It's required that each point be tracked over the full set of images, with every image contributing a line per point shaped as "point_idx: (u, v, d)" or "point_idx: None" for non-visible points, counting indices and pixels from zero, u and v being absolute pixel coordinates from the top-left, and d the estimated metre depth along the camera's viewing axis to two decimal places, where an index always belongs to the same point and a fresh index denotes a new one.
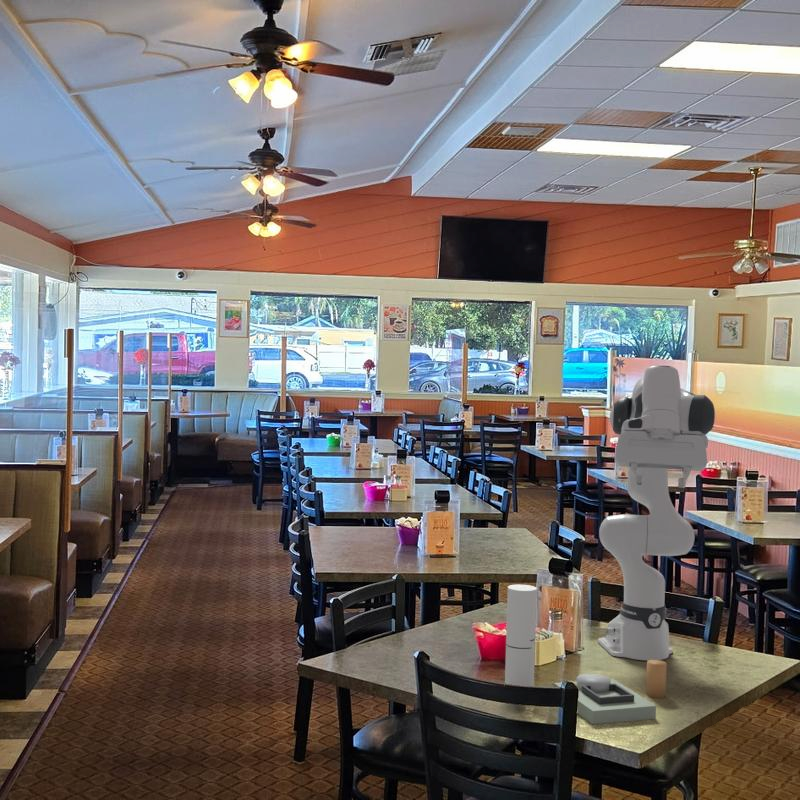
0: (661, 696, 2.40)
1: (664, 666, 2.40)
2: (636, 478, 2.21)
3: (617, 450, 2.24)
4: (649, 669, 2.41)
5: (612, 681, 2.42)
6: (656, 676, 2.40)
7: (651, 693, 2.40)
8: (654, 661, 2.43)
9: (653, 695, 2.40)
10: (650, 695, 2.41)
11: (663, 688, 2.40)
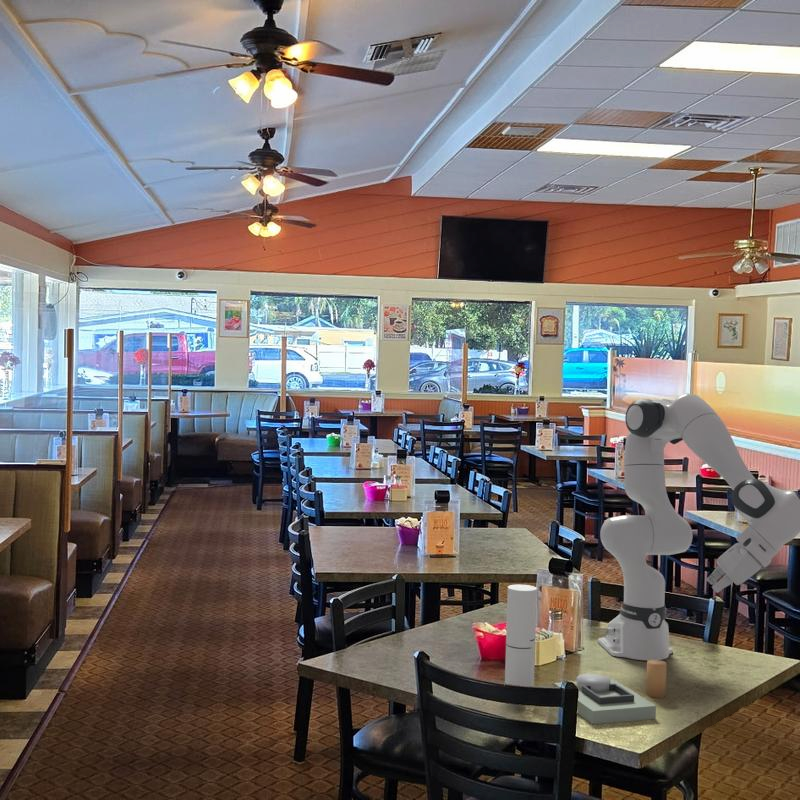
0: (661, 696, 2.40)
1: (664, 666, 2.40)
2: (720, 590, 2.34)
3: None
4: (649, 669, 2.41)
5: (612, 681, 2.42)
6: (656, 676, 2.40)
7: (651, 693, 2.40)
8: (654, 661, 2.43)
9: (653, 695, 2.40)
10: (650, 695, 2.41)
11: (663, 688, 2.40)
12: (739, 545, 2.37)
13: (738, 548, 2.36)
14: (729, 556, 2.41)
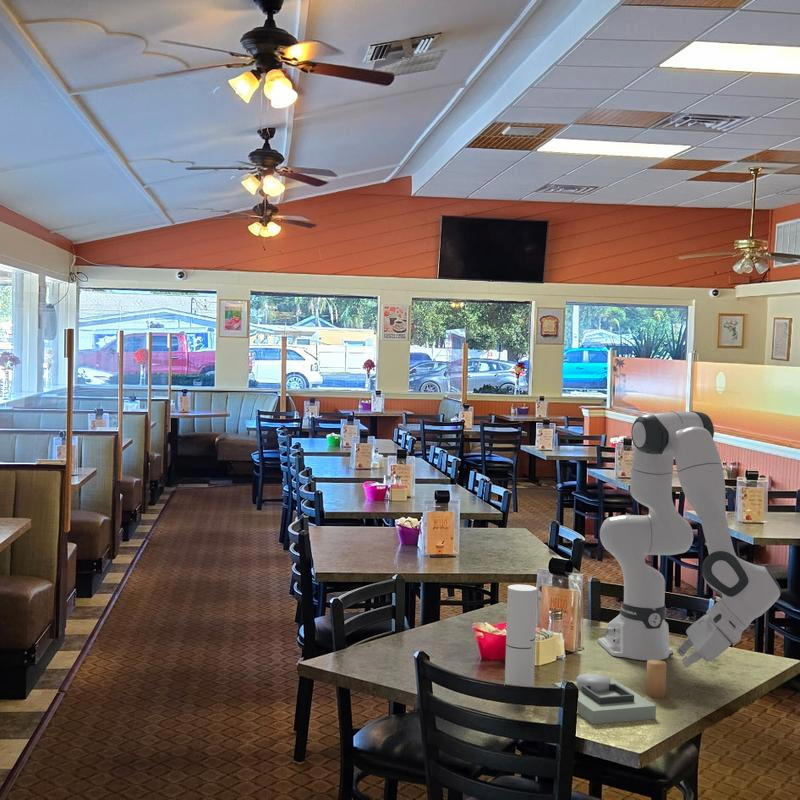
0: (661, 696, 2.40)
1: (664, 666, 2.40)
2: None
3: (715, 657, 2.31)
4: (649, 669, 2.41)
5: (612, 681, 2.42)
6: (656, 676, 2.40)
7: (651, 693, 2.40)
8: (654, 661, 2.43)
9: (653, 695, 2.40)
10: (650, 695, 2.41)
11: (663, 688, 2.40)
12: (709, 619, 2.39)
13: (708, 622, 2.38)
14: (699, 629, 2.43)
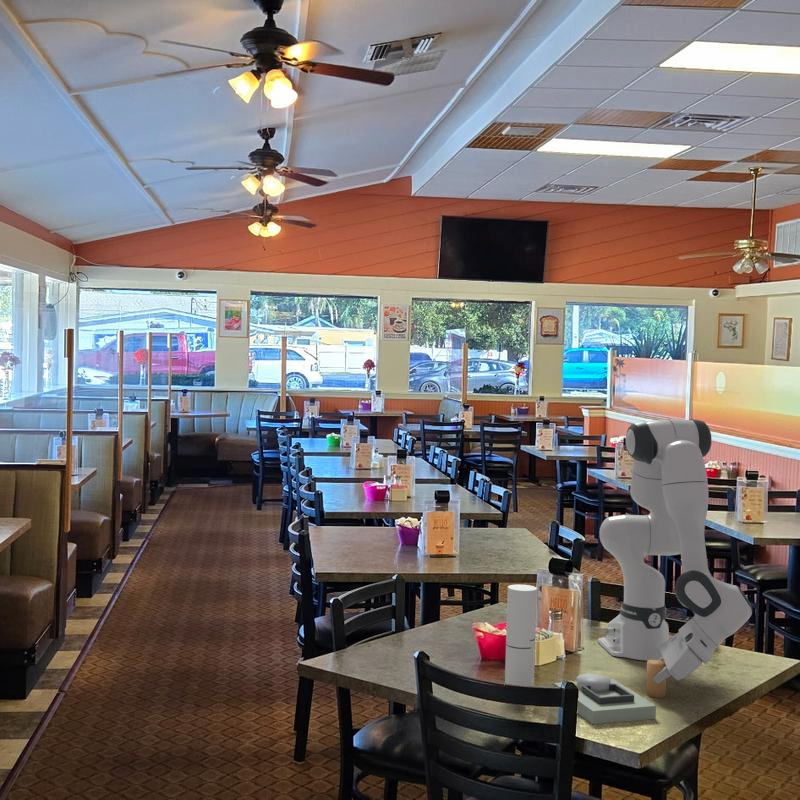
0: (661, 696, 2.40)
1: (664, 666, 2.40)
2: None
3: None
4: (649, 669, 2.41)
5: (612, 681, 2.42)
6: None
7: (651, 693, 2.40)
8: (654, 661, 2.43)
9: (653, 695, 2.40)
10: (650, 695, 2.41)
11: (663, 688, 2.40)
12: (681, 638, 2.40)
13: (680, 641, 2.39)
14: (672, 647, 2.44)
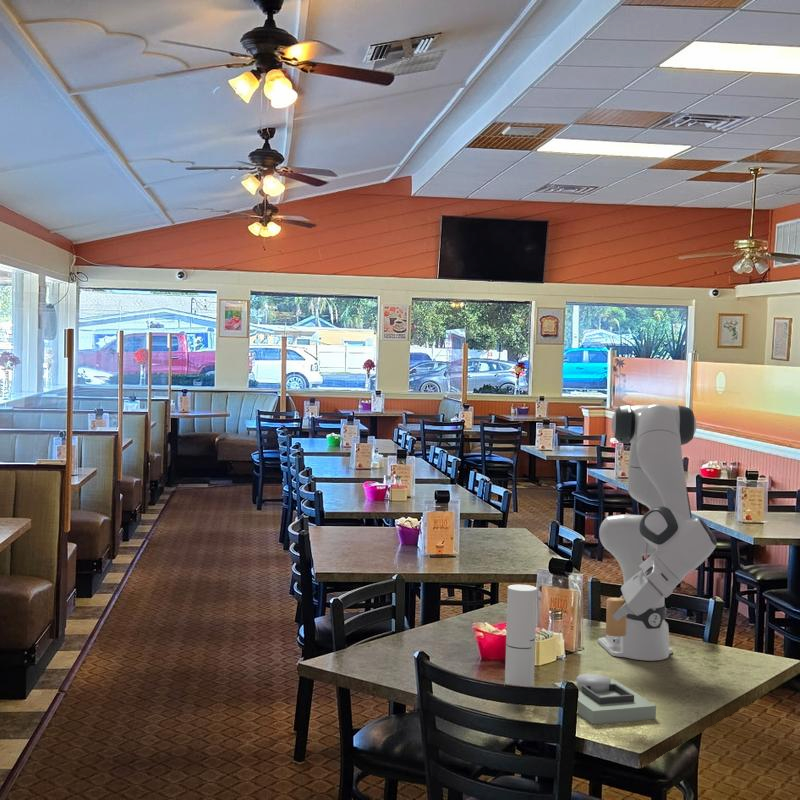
0: (622, 634, 2.29)
1: None
2: (620, 618, 2.27)
3: (646, 610, 2.20)
4: (609, 606, 2.29)
5: (612, 681, 2.42)
6: None
7: (611, 632, 2.29)
8: (614, 598, 2.31)
9: (613, 633, 2.29)
10: (610, 634, 2.29)
11: (623, 626, 2.29)
12: (642, 573, 2.29)
13: (641, 576, 2.28)
14: (632, 584, 2.32)
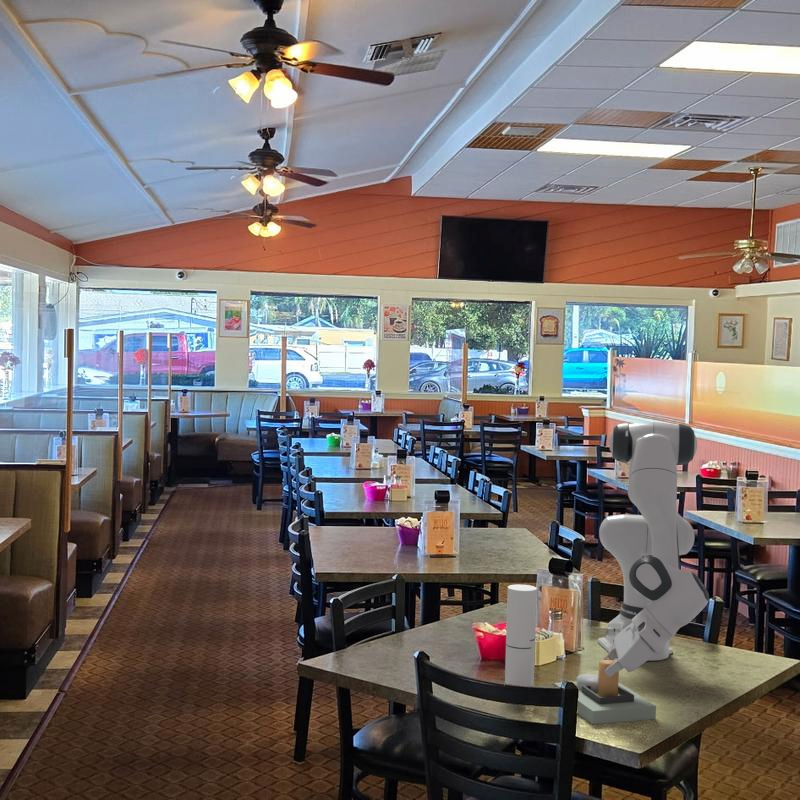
0: None
1: None
2: None
3: None
4: (601, 670, 2.29)
5: None
6: (607, 677, 2.28)
7: (603, 695, 2.29)
8: (606, 661, 2.31)
9: None
10: None
11: (615, 689, 2.29)
12: (634, 627, 2.28)
13: (633, 630, 2.28)
14: (625, 637, 2.32)
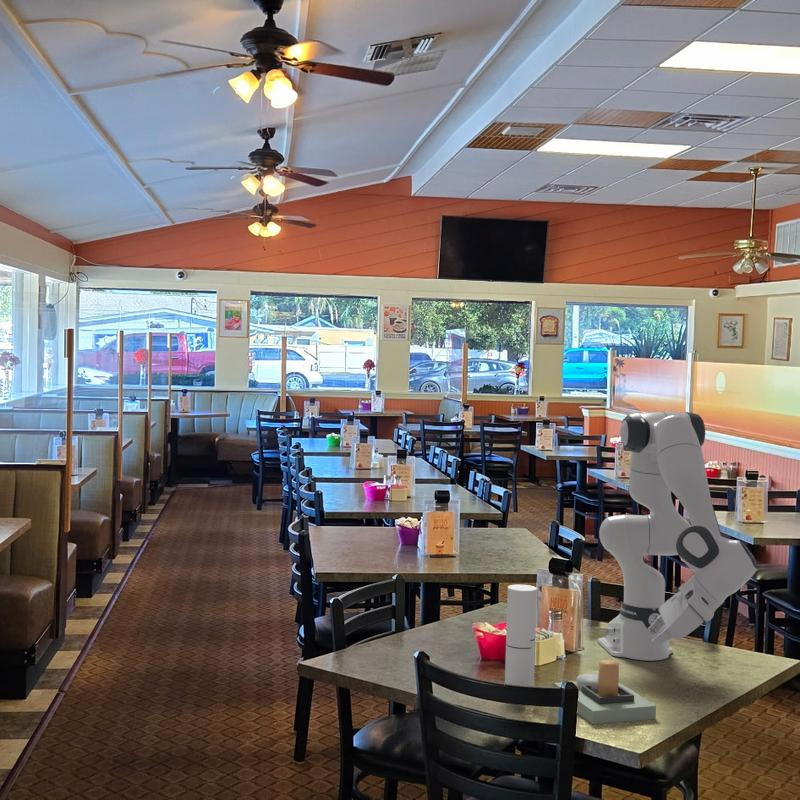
0: None
1: (616, 666, 2.29)
2: None
3: (686, 635, 2.18)
4: (601, 670, 2.29)
5: None
6: (607, 677, 2.28)
7: (603, 695, 2.29)
8: (606, 661, 2.31)
9: None
10: None
11: (615, 690, 2.29)
12: (681, 596, 2.26)
13: (680, 599, 2.26)
14: (671, 606, 2.30)
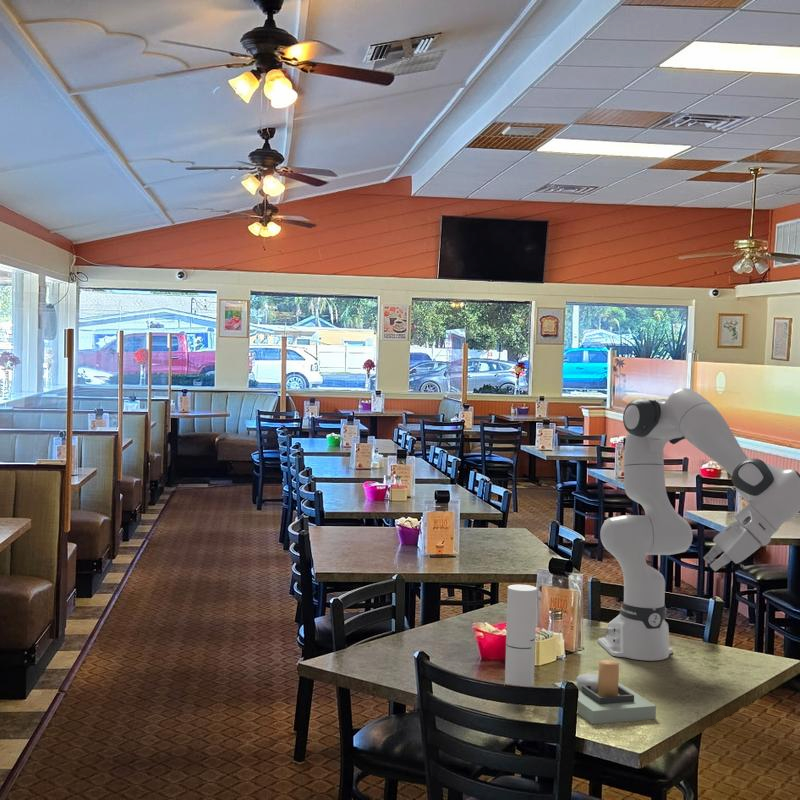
0: None
1: (616, 666, 2.29)
2: None
3: (745, 558, 2.26)
4: (601, 670, 2.29)
5: None
6: (607, 677, 2.28)
7: (603, 695, 2.29)
8: (606, 661, 2.31)
9: None
10: None
11: (615, 690, 2.29)
12: (738, 523, 2.34)
13: (737, 526, 2.33)
14: (727, 534, 2.38)
